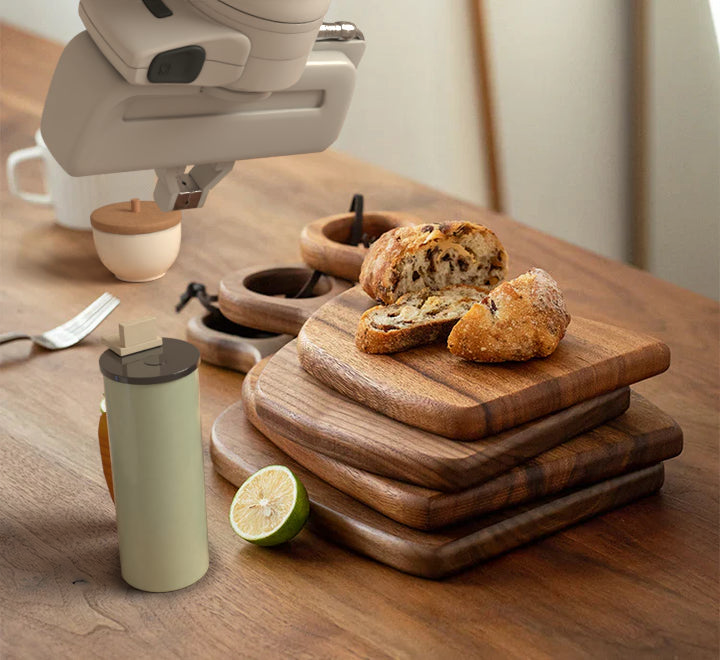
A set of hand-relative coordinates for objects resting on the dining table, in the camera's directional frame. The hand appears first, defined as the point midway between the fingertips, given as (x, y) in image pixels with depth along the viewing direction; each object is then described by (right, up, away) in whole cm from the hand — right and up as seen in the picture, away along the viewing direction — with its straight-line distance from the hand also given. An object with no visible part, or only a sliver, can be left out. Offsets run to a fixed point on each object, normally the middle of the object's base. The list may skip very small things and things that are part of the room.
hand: (177, 204), depth 71 cm
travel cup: (-4, -28, +18) cm, 34 cm away
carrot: (-8, -26, +24) cm, 36 cm away
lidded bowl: (-20, 0, +84) cm, 86 cm away
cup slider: (-6, -9, +13) cm, 17 cm away
